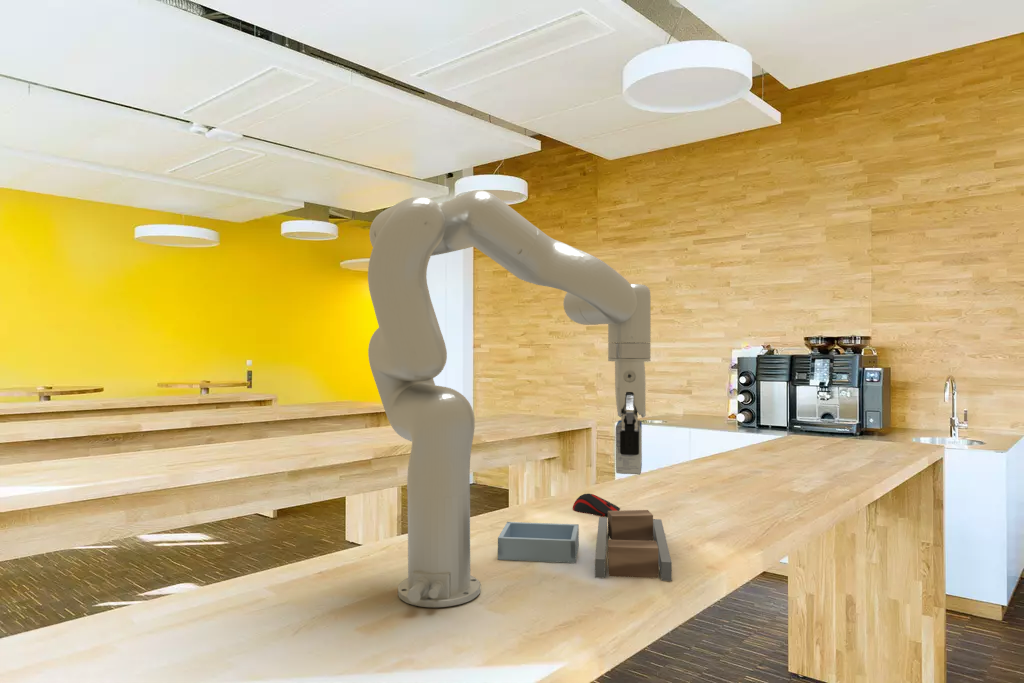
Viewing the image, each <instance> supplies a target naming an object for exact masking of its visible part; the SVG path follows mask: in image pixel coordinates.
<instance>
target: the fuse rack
mask: <svg viewBox="0 0 1024 683" xmlns="http://www.w3.org/2000/svg"><path fill="white" fill-rule="evenodd" d="M596 535H597V536H596V544H595V545H596V546H595V556H594V578H599V579H603V578H606V568H607V567H606V564H607V562H606V561H607V547H608V517H602V516H598V524H597V534H596ZM653 541H656V543H657V546H658V570H659V574H660V575H659V576H660V579H661V581H663V582H672V581H673V578H672V576H673V574H672V573H673V569H672V568H673V566H672V565H673V564H672V563H673V562H672V558H671V555H670V550H669V549H670V548H669V546H668V541H667V537H666V534H665V530H664V525H663V520H662V519H661V518H656V519H654V518H653Z"/></svg>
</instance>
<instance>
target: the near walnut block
mask: <svg viewBox="0 0 1024 683" xmlns="http://www.w3.org/2000/svg"><path fill="white" fill-rule="evenodd" d="M607 572H608V577H609V578H610V577H611V578H612V577H614V578H643V579H645V578H646V579H659V564H658V546H657V543H656V541H654V540H653V541H641V540H611V539H607Z"/></svg>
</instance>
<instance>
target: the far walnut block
mask: <svg viewBox="0 0 1024 683" xmlns="http://www.w3.org/2000/svg"><path fill="white" fill-rule="evenodd" d="M653 519H654V514H652V513H651V512H650V511H649V509H639V510H638V509H633V510H632V509H627V510H624V509H623V510H619V511H608V517H607V537H609V540H641V541H654V536H653Z"/></svg>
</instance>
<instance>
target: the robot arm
mask: <svg viewBox="0 0 1024 683" xmlns="http://www.w3.org/2000/svg"><path fill="white" fill-rule="evenodd" d="M369 241H370V244H371V246H372V250H371V253H370V257H369V261H368V266H367V267H368V268H367V283H368V284H367V286H368V290H369V294H370V299H371V301H372V302H371V303H372V306H373V309H374V313H375V314H374V315H375V317H376V318H375V319H376V321H377V324H378V328H377V329H376V330H375V331H374V332H373V334H372V336H371V337H370V340H369V343H368V349H367V353H368V361H369V366H370V370H371V373H372V377H373V380H374V382H375V386H376V389H377V390H378V395H379V397H380V400H381V403H382V406H383V410H384V413H385V414H386V417H387V420H388V422H389V424H390V425H391V427H392V429H393V431H394V432H395V433H396V434H397V435H398V436H400V437H401V438H403V439H405V440H407V441H409V442H411V449H410V454H409V461H408V466H407V475H406V476H407V477H406V479H407V480H406V482H407V491H406V492H407V578H405V579H404V580H402V581H401V582H400V583H399V584H398V586H397V596H398V598H399V599H400V600H402V601H403V602H404V603H407V604H410V605H411V606H416V607H417V606H418V607H421V608H422V607H423V608H446V607H447V608H448V607H453V606H458V605H462V604H465V603H468V602H470V601H473V600H474V599H476V598H477V597H478V596H479V595H480V593H481V586H482V585H481V582H480V581H479V579H478V578H476V576H473V575H471V489H470V488H471V486H470V484H471V483H470V482H471V479H470V478H471V477H470V476H471V475H470V474H471V472H470V471H471V468H470V467H471V456H472V455H471V454H472V447H473V440H474V435H475V428H476V419H475V413H474V410H473V407H472V405H471V403H470V402H469V399H468V398H466V396H464V395H463V394H462V393H461V392H459V391H457V390H456V389H453V388H451V387H447V386H441V385H436V383H435V381H434V378H436V377H437V376H438V375H440V374H441V373H442V371H443V370H444V368H445V366H446V363H447V359H448V352H447V347H446V343H445V340H444V336H443V334H442V329H441V326H440V324H439V321H438V317H437V315H436V311H435V309H434V305H433V302H432V299H431V295H430V290H429V287H428V279H427V276H428V274H427V272H428V266H429V262H430V259H431V257H433V256H439V255H443V254H449V253H453V252H458V251H461V250H466V249H470V248H475V249H476V250H478V251H480V252H481V253H483V255H485V256H487V257H488V258H489V259H491V260H492V261H494V262H495V263H496V264H498V265H499V266H501V267H502V268H504V269H505V270H506V271H508V272H509V273H510V274H512V275H513V276H514V277H516V278H517V279H519V280H521V281H524V282H526V283H530V284H533V285H536V286H541V287H547V288H554V289H557V290H560V291H563V292H565V293H566V294H565V295H564V298H563V309H564V313H565V315H566V316H567V317H568V318H569V319H570V320H571V321H573V322H574V323H577V324H579V325H583V326H597V325H607V332H608V333H607V336H608V337H607V343H608V344H607V360H608V362H614V387H615V388H614V390H615V404H616V405H615V406H616V412H617V416H619V417H620V418H621V419H620V420H622V431H620V453H621V454H622V455H638V454H639V431H638V420H639V419H638V417H639V416H641V418H643V419H644V418H645V417H646V415H647V414H646V413H647V412H646V411H647V410H646V409H647V408H646V366H645V362H651V359H652V358H651V354H652V353H651V351H652V350H651V349H652V346H651V345H652V344H651V343H652V342H651V341H652V340H651V339H652V338H651V333H652V332H651V330H652V329H651V327H652V326H651V320H652V318H651V313H652V312H651V300H652V298H651V297H652V296H651V290H650V288H649V287H648V285H645V284H641V283H630V282H629V281H628V280H627V278H625V277H624V276H623V275H621V274H620V273H619V272H618V271H617V270H616V269H614V268H613V267H611V266H610V265H609V264H608V263H606V262H605V261H603V260H601V259H600V258H598V257H596V256H594V255H592V254H590V253H588V252H585V251H584V250H581V249H579V248H576V247H574V246H571V245H569V244H568V243H566V242H565V243H564V242H562V241H560V240H557V239H554V238H552V237H551V236H550V235H547V234H546V233H545V232H544V231H542V230H541V229H540V228H538V227H537V226H536V225H534V224H533V223H532V222H530V221H529V220H528V219H526V218H525V217H524V216H523V215H521V213H520V212H519V213H518V211H516V210H515V209H514V208H512V207H511V206H510V205H509V204H507V203H506V202H505V201H504V200H502V199H501V198H499V197H498V196H496V195H495V194H493V193H492V192H489V191H486V190H482V189H481V190H480V189H478V190H472V191H469V192H466V193H464V194H462V195H459V196H457V197H455V198H451V199H450V200H446V201H441V202H436V201H435V200H433V199H432V198H429V197H426V196H425V197H424V196H413V197H409V198H405V199H403V200H402V201H400V202H398V203H395V204H394V205H392V206H391V207H390V206H389V207H388V208H386V209H384V210H382V211H381V212H379V214H377V215H376V216H375V218H374V219H373V221H372V223H371V225H370V228H369ZM634 429H635V431H634Z"/></svg>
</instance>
